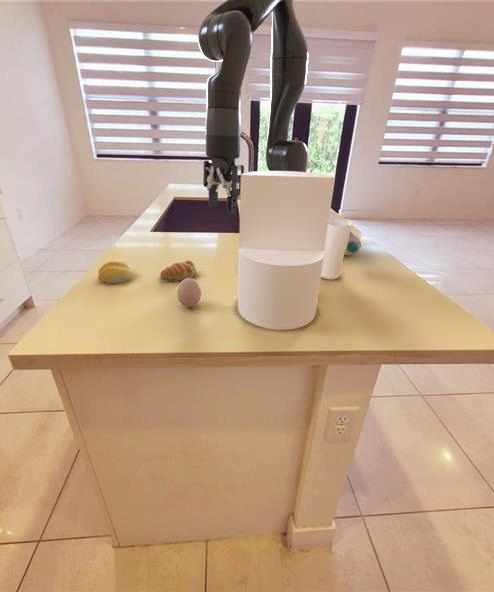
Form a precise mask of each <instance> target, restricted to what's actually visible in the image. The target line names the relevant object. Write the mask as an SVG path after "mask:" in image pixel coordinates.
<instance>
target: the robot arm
mask: <svg viewBox="0 0 494 592" xmlns="http://www.w3.org/2000/svg"><path fill="white" fill-rule="evenodd" d="M270 14H271V52H270V53H271V54H270V96H269V97H270V98H269V116H268V117H269V119H268V129H267V137H266V147H265V163H266V164H265V165H266V167H267V169H268V171H295V172H307V167H308V160H309V151H308V148H307V145H306V144H305V143H304V142H303V141H301V140H294V139H293V140H292V139H289V131H290V124H291V119H292V116H293V113H294V111H295V108H296V106H297V104H298V103H299V101H300V99H301V96H302V94H303V92H304V90H305V87H306V84H307V78H308V65H309V46H308V43H307V40H306V37H305V34H304V32H303V29H302V28H301V26H300V23H299V21H298V19H297V15H296V12H295V7H294V0H226V1H224V2H222V3H221V4H220V5H219V6H217V7H216V8H215V9H213V10H212V11H211V12H209V13H208V14H207V16H205V18H203V21H202V22H201V24H200V26H199V30H198V39H197V41H198V47H199V50H200V51H201V53H202V55H203V56H204V57H205V59H207V60H209V61H211V62H218V63H219V62H221V64H220V68H219V70H218V71H217V72H215V73H214V74H212V75H210V76H209V77H208V79H207V82H206V114H205V156H206V157H207V158H211V159H210V160H204V161H203V187H204V188H206V190H207V191H208V207H210V208H218V206H219V191H218V189H219V187H220V185H221V187H222V188H223V189H224V190H225V193H226V195H227V196H226V213H227V214H228V215H234V214H236V213H237V209H238V204H237V203H238V197H240V190H241V174H243V173H245V166H244V165H243V164H236V159H239V158H240V156H241V136H242V135H241V133H242V118H241V116H242V115H241V105H242V104H241V103H242V86H243V81H244V79H245V76H246V75H245V74H246V71H247V66H248V64H249V60H250V56H251V50H252V44H253V34H254V33H255V32H256V31H257V30H258V29H259V28H260V27H261V26H262V24H263V23H264V22H265V21H266V19H267V18H268V17H269V15H270Z"/></svg>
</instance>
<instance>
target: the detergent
mask: <svg viewBox="0 0 494 592" xmlns="http://www.w3.org/2000/svg"><path fill="white" fill-rule="evenodd" d="M361 248H362V243H361V241H360V239H359V238H358V237H357V236H356V235H355V234H354V233H353V232H352V231H350V235H349V240H348V244H347V247H346V251H345V254H344V256H352V255H354V254H356V253H357V252H358V251H359V250H360V249H361Z"/></svg>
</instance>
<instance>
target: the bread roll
mask: <svg viewBox="0 0 494 592" xmlns="http://www.w3.org/2000/svg"><path fill="white" fill-rule="evenodd" d="M132 275H133V271H132V269H131V267H130V266H129V265H128V264H127V263H125V262H123V261H119V260H113V261H108V262H105V263H104V264H102V266H101V267H100V268H99V270H98V278H97V279H98V281H99V282H100V283H102V284H104V285H118V284H123V283H125V282H127V281H128V280H130V279H131V278H132Z"/></svg>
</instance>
